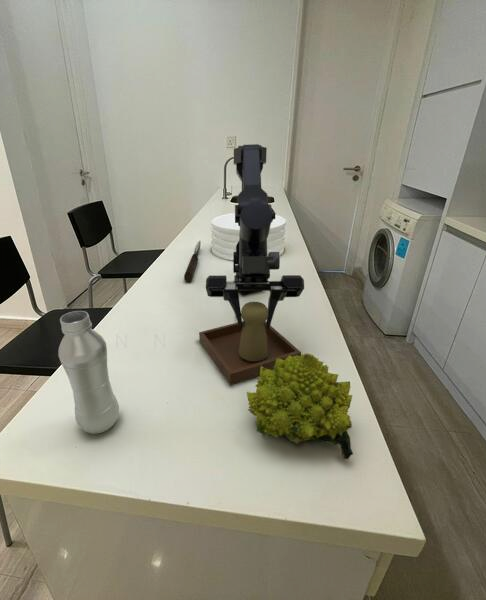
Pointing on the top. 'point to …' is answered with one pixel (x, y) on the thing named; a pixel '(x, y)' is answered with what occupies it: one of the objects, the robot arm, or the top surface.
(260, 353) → the cork
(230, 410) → the top surface
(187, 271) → the kitchen knife
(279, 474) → the top surface
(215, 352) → the tray
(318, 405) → the vegetable
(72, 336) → the plastic bottle
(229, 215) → the plate stack
